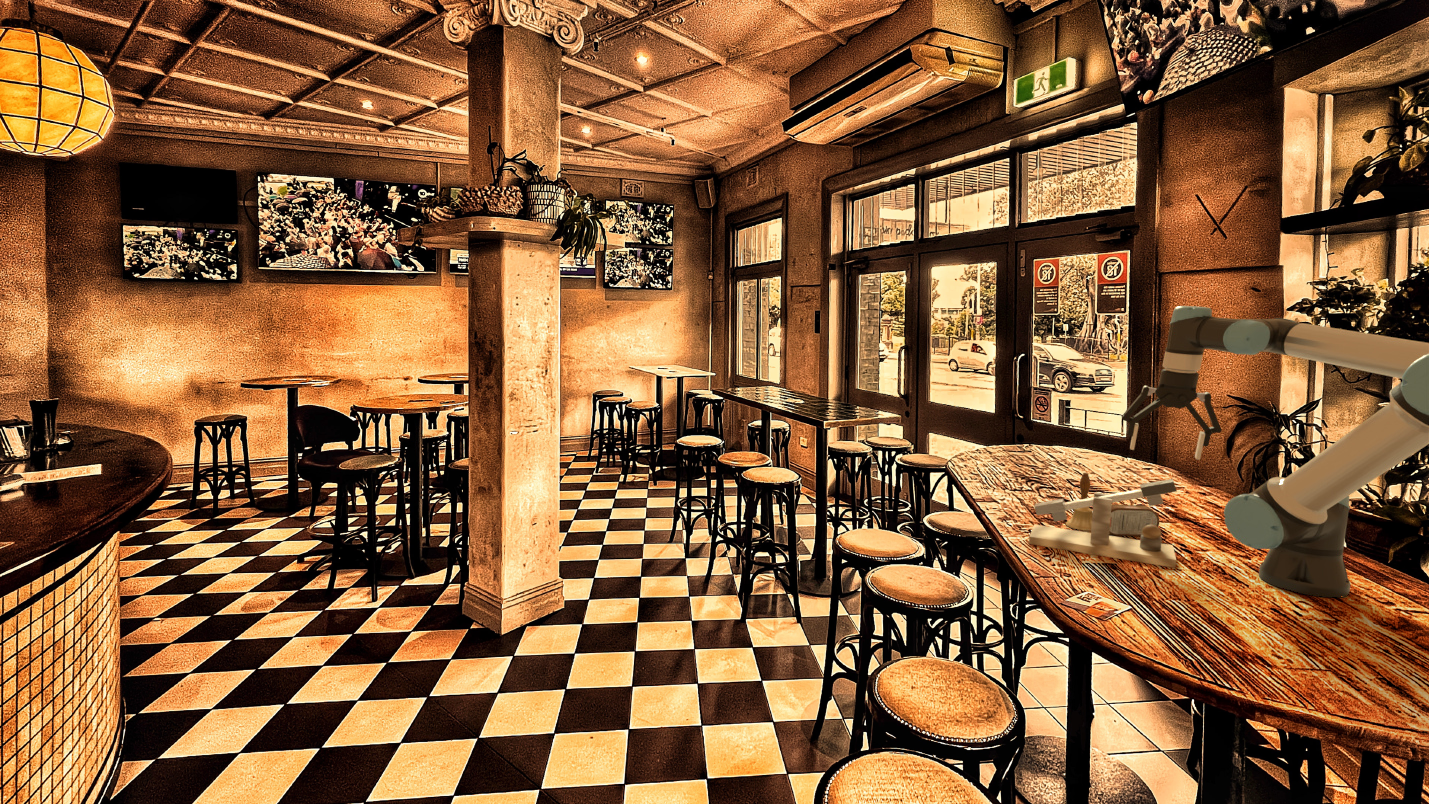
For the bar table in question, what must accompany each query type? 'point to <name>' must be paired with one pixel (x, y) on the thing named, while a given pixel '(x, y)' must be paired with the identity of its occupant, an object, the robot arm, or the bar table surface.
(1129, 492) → the lever
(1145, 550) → the press base
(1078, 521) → the hand bell
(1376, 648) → the bar table surface
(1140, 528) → the tin
